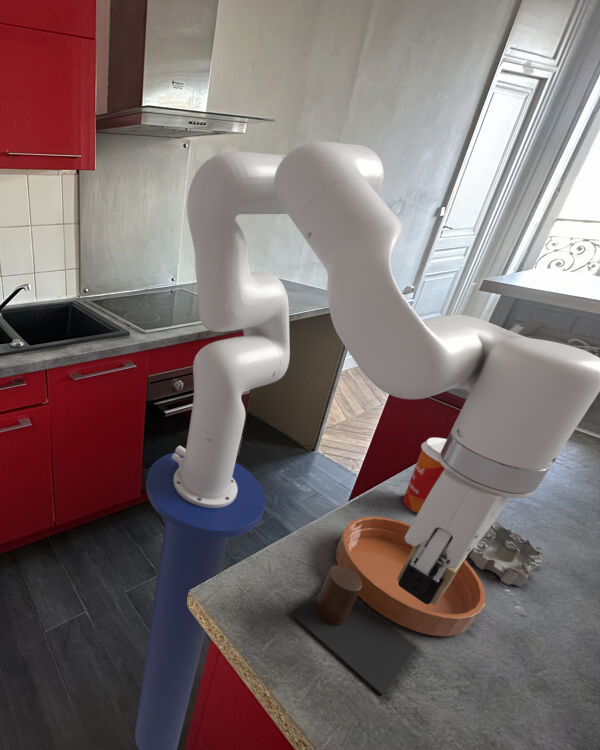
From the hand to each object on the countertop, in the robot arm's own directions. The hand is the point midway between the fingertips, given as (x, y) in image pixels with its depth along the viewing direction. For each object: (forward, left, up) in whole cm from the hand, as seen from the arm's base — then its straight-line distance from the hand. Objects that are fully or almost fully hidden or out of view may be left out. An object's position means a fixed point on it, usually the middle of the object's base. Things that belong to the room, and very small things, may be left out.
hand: (422, 582), depth 49 cm
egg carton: (+4, +33, -14) cm, 36 cm away
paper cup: (-9, +36, -14) cm, 40 cm away
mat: (-4, -1, -14) cm, 14 cm away
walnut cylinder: (-7, -1, -14) cm, 15 cm away
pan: (-4, +14, -14) cm, 20 cm away
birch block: (0, 0, 0) cm, 0 cm away
